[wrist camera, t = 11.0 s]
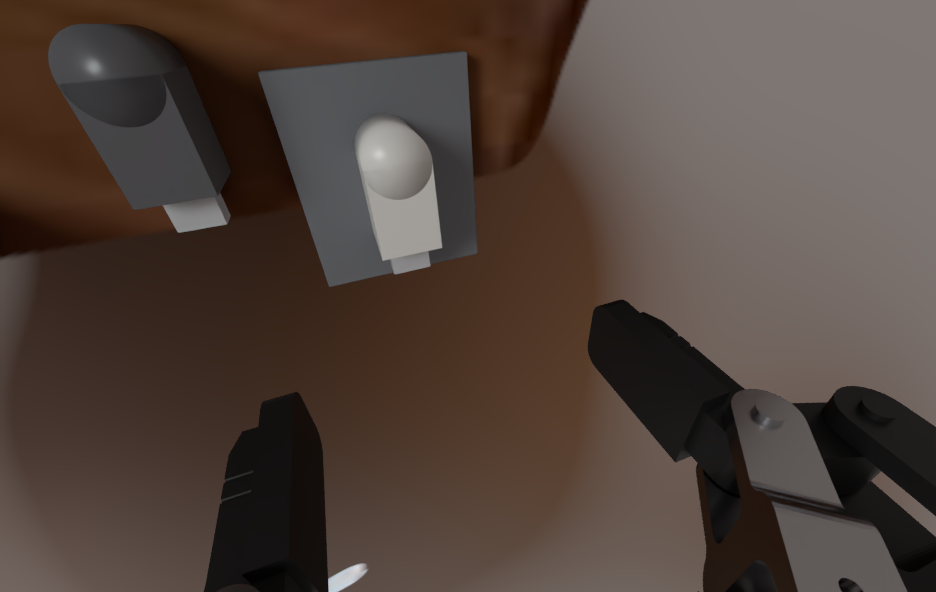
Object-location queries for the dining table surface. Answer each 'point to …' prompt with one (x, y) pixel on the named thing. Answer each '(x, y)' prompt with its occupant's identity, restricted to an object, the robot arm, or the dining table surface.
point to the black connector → (144, 119)
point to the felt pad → (334, 158)
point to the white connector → (398, 191)
